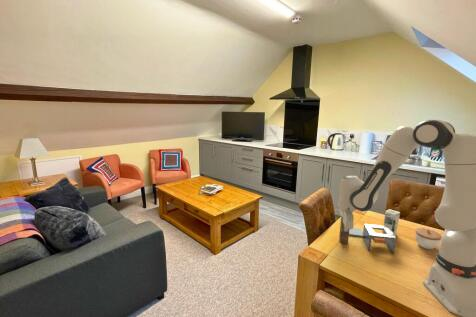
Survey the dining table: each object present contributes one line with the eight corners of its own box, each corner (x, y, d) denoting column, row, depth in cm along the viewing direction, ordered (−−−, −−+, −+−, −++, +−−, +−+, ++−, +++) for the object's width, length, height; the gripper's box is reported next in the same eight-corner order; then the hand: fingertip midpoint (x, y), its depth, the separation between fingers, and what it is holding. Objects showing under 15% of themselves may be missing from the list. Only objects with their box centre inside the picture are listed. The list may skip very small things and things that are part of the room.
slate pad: (363, 237, 136) (364, 235, 135) (348, 235, 138) (348, 233, 137) (360, 230, 143) (360, 228, 143) (346, 228, 145) (346, 227, 145)
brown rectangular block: (348, 243, 129) (350, 219, 126) (340, 242, 130) (342, 218, 127) (346, 239, 133) (349, 216, 130) (339, 238, 134) (341, 215, 131)
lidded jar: (429, 240, 132) (432, 225, 130) (444, 252, 121) (447, 236, 119) (409, 239, 133) (411, 224, 131) (421, 251, 123) (424, 235, 120)
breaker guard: (393, 253, 121) (396, 238, 119) (367, 250, 124) (369, 234, 122) (386, 240, 132) (388, 226, 130) (362, 238, 135) (364, 223, 133)
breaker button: (384, 243, 124) (385, 240, 124) (374, 242, 125) (374, 239, 125) (381, 238, 129) (382, 235, 128) (371, 237, 130) (371, 234, 130)
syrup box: (381, 233, 139) (385, 211, 136) (386, 230, 142) (389, 208, 139) (392, 238, 135) (396, 214, 131) (396, 234, 138) (400, 211, 135)
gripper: (357, 214, 116) (355, 239, 119) (350, 198, 136) (347, 220, 139) (344, 212, 118) (341, 237, 121) (338, 197, 137) (336, 219, 140)
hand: (344, 228), depth 130 cm, fingers closed on brown rectangular block, 4 cm apart
